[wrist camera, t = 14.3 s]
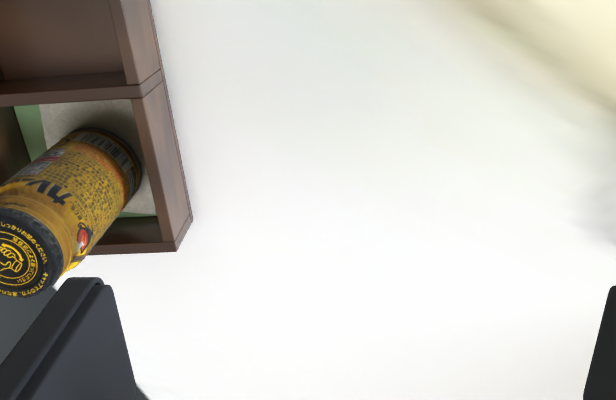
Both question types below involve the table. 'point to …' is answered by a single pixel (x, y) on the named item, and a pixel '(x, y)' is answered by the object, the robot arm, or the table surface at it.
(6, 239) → the condiment
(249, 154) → the table surface
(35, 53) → the holder
